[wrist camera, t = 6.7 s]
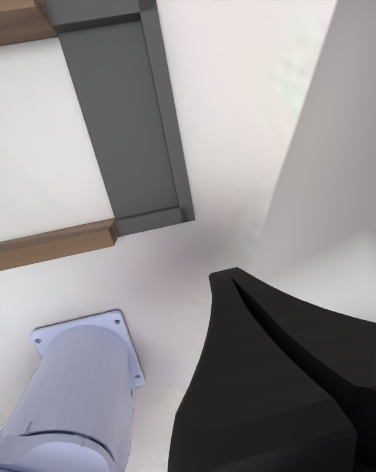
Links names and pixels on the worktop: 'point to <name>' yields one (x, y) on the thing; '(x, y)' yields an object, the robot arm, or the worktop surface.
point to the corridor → (64, 240)
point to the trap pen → (127, 107)
